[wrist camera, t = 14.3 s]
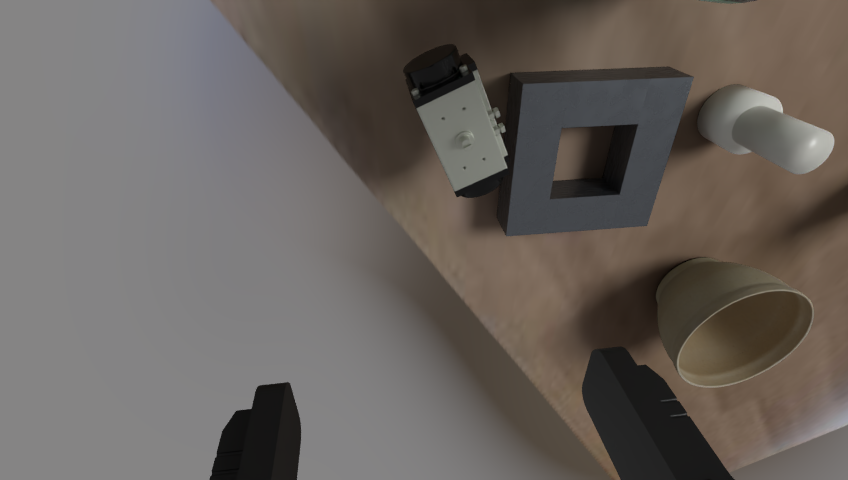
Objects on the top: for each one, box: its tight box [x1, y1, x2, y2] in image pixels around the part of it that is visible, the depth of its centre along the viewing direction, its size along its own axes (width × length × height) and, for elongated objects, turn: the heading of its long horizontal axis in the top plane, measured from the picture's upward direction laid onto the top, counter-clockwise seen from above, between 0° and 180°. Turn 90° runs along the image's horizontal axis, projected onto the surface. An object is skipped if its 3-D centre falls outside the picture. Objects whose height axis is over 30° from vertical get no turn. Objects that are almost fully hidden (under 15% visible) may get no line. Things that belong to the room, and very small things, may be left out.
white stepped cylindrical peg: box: [697, 84, 834, 174], centre depth 43 cm, size 6×6×11 cm
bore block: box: [497, 67, 694, 236], centre depth 46 cm, size 16×16×4 cm
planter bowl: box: [656, 258, 814, 388], centre depth 57 cm, size 16×16×11 cm
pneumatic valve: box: [403, 44, 510, 198], centre depth 39 cm, size 6×12×12 cm, turn 24°
